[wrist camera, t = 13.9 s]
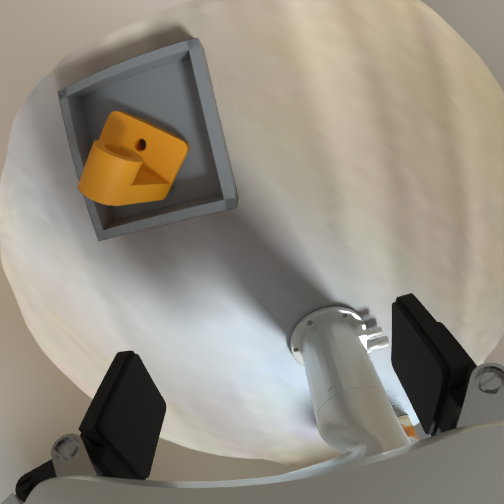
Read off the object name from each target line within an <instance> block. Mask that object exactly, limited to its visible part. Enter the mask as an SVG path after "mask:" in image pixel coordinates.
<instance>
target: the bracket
mask: <svg viewBox="0 0 504 504" xmlns="http://www.w3.org/2000/svg"><path fill="white" fill-rule="evenodd" d="M143 139H144V140H145V141H146V148H145V149H144V148H143V147H142V145H141V142H142V140H143ZM189 150H190V145H189V143H188V142H187V141H186V140H184V139H182V138H180V137H178V136H176V135H175V134H174V133H171V132H169V131H167V130H165V129H163V128H161V127H159V126H157V125H154V124H152V123H150V122H148V121H146V120H144V119H141V118H139V117H135V116H133V115H130V114H128V113H126V112H123V111H114V112H112V113H111V114H110V115H109V117H108V119H107V121H106V123H105V126H104V128H103V130H102V133H101V135H100V138H99V140H96V141H94V143H93V145H92V148H91V151H90V153H89V156H88V159H87V161H86V164H85V167H84V170H83V173H82V176H81V179H80V182H79V185H78V188H79V190H80V192H81V193H82V194H83V195H85V196H86V197H88V198H89V199H91V200H93V201H96V202H98V203H101V204H105V205H111V206H120V205H127V204H134V203H142V202H150V201H158V200H164V199H165V198H166V197H167V195H168V193H169V191H170V189H171V187H172V185H173V183H174V180H175V178H176V176H177V174H178V172H179V170H180V168H181V166H182V164H183V162H184V160H185V158H186V156H187V154H188V152H189Z"/></svg>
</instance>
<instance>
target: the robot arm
mask: <svg viewBox="0 0 504 504" xmlns="http://www.w3.org/2000/svg"><path fill="white" fill-rule="evenodd" d="M380 335H382V329H381V327H378V328H374V329H372V330H368V331H367V329H366V325H365V323H364V321H363V319H362V318H361V316H360V315H359V314H358V313H356V312H355V311H353V310H351V309H349V308H345V307H339V306H334V307H326V308H322V309H319V310H317V311H314V312H312V313H311V314H309V315H307V316H306V317H305V318H303V319H302V320H301V321H300V322H299V323H298V324H297V326H296V327H295V329H294V330H293V333H292V335H291V340H290V346H291V352H292V355H293V357H294V358H295V360H296V361H297V362H298V363H299V364H301V365H302V366H304V367H305V371H306V375H307V380H308V385H309V389H310V394H311V399H312V404H313V409H314V413H315V418H316V423H317V428H318V431H319V433H320V435H321V437H322V438H323V440H324V441H325V442H326V443H327V444H328V445H329V446H331V447H332V448H334V449H335V450H337V451H338V452H340V453H342V454H343V455H341V456H339V457H336V458H333V459H332V460H329V461H326V462H323V463H320V464H316V465H313V466H310V467H306V468H303V469H299V470H296V471H293V472H289V473H286V474H283V475H280V476H271V477H263V478H254V479H243V480H229V481H205V482H172V481H171V482H170V481H149V480H145V479H146V478H148V477H149V475H150V471H151V466H152V462H153V459H154V455H155V450H156V447H157V443H158V439H159V435H160V431H161V427H162V424H163V420H164V416H165V412H166V403H165V401H164V399H163V397H162V396H161V394H160V392H159V390H158V389H157V387H156V385H155V384H154V382H153V380H152V378H151V377H150V375H149V373H148V371H147V369H146V368H145V366H144V364H143V362H142V360H141V358H140V357H139V355H138V354H135V353H134V352H133V351H123V352H118V353H117V354H116V356H115V358H114V360H113V362H112V363H111V365H110V367H109V369H108V371H107V373H106V375H105V377H104V379H103V381H102V383H101V384H100V386H99V388H98V390H97V392H96V394H95V396H94V398H93V400H92V402H91V404H90V406H89V408H88V410H87V412H86V414H85V417H84V419H83V421H82V423H81V425H80V427H79V430H80V431H81V435H80V436H78V435H77V434H73V433H72V434H66V435H63V436H62V437H60V438H59V439H58V440H57V441H56V442H55V443H54V445H53V446H52V449H51V457H52V459H51V460H50V461H48V462H46V463H44V464H42V465H41V466H39V467H37V468H35V469H34V470H32V471H30V472H28V473H26V474H25V475H23V476H22V477H21V478H20V479H19V480H18V482H17V484H16V489H15V490H16V495H15V494H13V493H12V494H11V495H10V496H9V497H8V498H6V499H5V500H4V501H3V502H2V503H1V504H504V366H502V365H500V364H497V363H485V364H481V365H479V366H478V367H477V365H476V364H475V363H474V361H473V360H472V359H471V358H470V356H469V355H468V354H467V353H466V351H465V350H464V349H463V348H462V346H461V345H460V344H459V343H458V341H457V340H456V339H455V338H454V337H453V335H452V334H451V333H450V332H449V331H448V329H447V328H446V327H445V326H444V325H443V324H442V323H441V322H437V321H436V320H435V319H434V318H433V317H432V315H431V314H430V313H429V312H428V311H427V310H426V308H425V307H424V306H423V305H422V304H421V303H420V301H419V300H418V299H417V298H416V297H415V296H414V295H413V294H412V293H410V294H407V295H403V296H400V297H397V298H396V302H394V303H392V351H391V362H392V366H393V369H394V371H395V373H396V375H397V377H398V378H399V380H400V382H401V384H402V386H403V388H404V390H405V392H406V394H407V396H408V398H409V400H410V402H411V404H412V406H413V409H414V411H415V413H416V415H417V417H418V419H419V421H420V423H421V425H422V427H423V430H424V432H425V433H426V434H431V436H432V437H429V438H426V439H423V440H420V441H418V442H415V443H411V441H410V440H409V438H408V437H407V435H406V433H405V432H404V430H403V428H402V426H401V424H400V422H399V420H398V418H397V416H396V414H395V412H394V410H393V408H392V406H391V403H390V401H389V399H388V396H387V394H386V392H385V390H384V388H383V385H382V383H381V381H380V379H379V376H378V374H377V372H376V370H375V367H374V365H373V363H372V361H371V359H370V357H369V354H370V353H371V351H372V350H375V349H382V348H385V347H388V346H389V340H388V337H387V336H382V337H379V338H376V339H373V340H370V341H369V338H371V337H376V336H380Z"/></svg>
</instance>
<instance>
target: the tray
mask: <svg viewBox="0 0 504 504" xmlns="http://www.w3.org/2000/svg"><path fill="white" fill-rule="evenodd" d="M58 94H59V100H60V105H61V110H62V115H63V120H64V124H65V129H66V133H67V138H68V142H69V146H70V150H71V154H72V158H73V161H74V165H75V169H76V172H77V176H78V179H79V182H80V179H81V176H82V173H83V170H84V167H85V164H86V161H87V159H88V156H89V153H90V151H91V148H92V145H93V143H94V141H96V140H99V138H100V135H101V133H102V130H103V128H104V126H105V123H106V121H107V119H108V117H109V115H110V114H111V113H112V112H114V111H123V112H126V113H128V114H130V115H133V116H135V117H139V118H141V119H144V120H146V121H148V122H150V123H152V124H154V125H157V126H159V127H161V128H163V129H165V130H167V131H169V132H171V133H174V134H175V135H176V136H178V137H180V138H182V139H184V140H186V141H187V142H188V143H189V145H190V150H189V152H188V154H187V156H186V158H185V160H184V162H183V164H182V166H181V168H180V170H179V172H178V174H177V176H176V178H175V180H174V183H173V185H172V187H171V189H170V191H169V193H168V195H167V197H166V198H165V199H164V200H158V201H150V202H142V203H134V204H127V205H120V206H111V205H105V204H101V203H98V202H96V201H93V200H91V199H89V198H88V197H86V196H85V195H83V196H84V199H85V202H86V206H87V209H88V212H89V215H90V218H91V221H92V224H93V227H94V229H95V232H96V235H97V238H98V241H101V240H105V239H109V238H113V237H116V236H120V235H124V234H128V233H132V232H136V231H140V230H144V229H148V228H152V227H156V226H160V225H164V224H168V223H172V222H176V221H181V220H185V219H189V218H193V217H198V216H202V215H206V214H211V213H215V212H220V211H224V210H229V209H233V208H237V205H238V194H237V190H236V185H235V181H234V177H233V173H232V168H231V164H230V160H229V155H228V151H227V147H226V143H225V138H224V134H223V130H222V125H221V121H220V117H219V112H218V108H217V104H216V100H215V95H214V91H213V87H212V82H211V78H210V74H209V69H208V65H207V61H206V57H205V52H204V48H203V46H202V44H201V43H200V41H199V39H198V38H194V39H190V40H187V41H183V42H180V43H176V44H173V45H170V46H167V47H163V48H160V49H157V50H154V51H151V52H148V53H145V54H143V55H140V56H137V57H134V58H132V59H129V60H126V61H124V62H121V63H119V64H116V65H114V66H111V67H109V68H107V69H104V70H102V71H100V72H97V73H95V74H93V75H91V76H89V77H86V78H84V79H82V80H80V81H78V82H76V83H74V84H72V85H70V86H68V87H66V88H64V89H62V90H60V91H58ZM141 145H142V147H143V148H144V149H145V148H146V141H145V140H144V139H143V140H142V142H141Z"/></svg>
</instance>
